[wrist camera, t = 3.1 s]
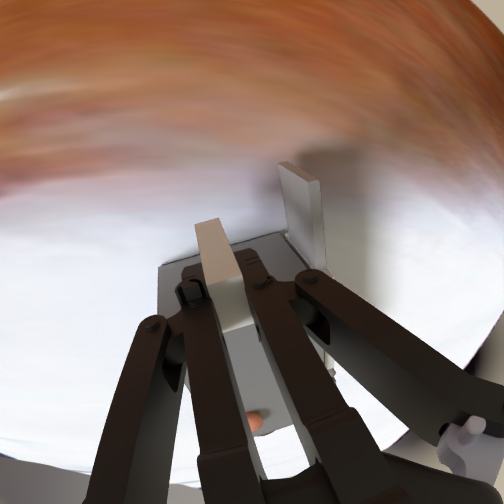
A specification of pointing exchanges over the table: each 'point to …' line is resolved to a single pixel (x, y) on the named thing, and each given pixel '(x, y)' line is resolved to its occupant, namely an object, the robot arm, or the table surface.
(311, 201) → the side door
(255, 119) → the table surface
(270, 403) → the housing
